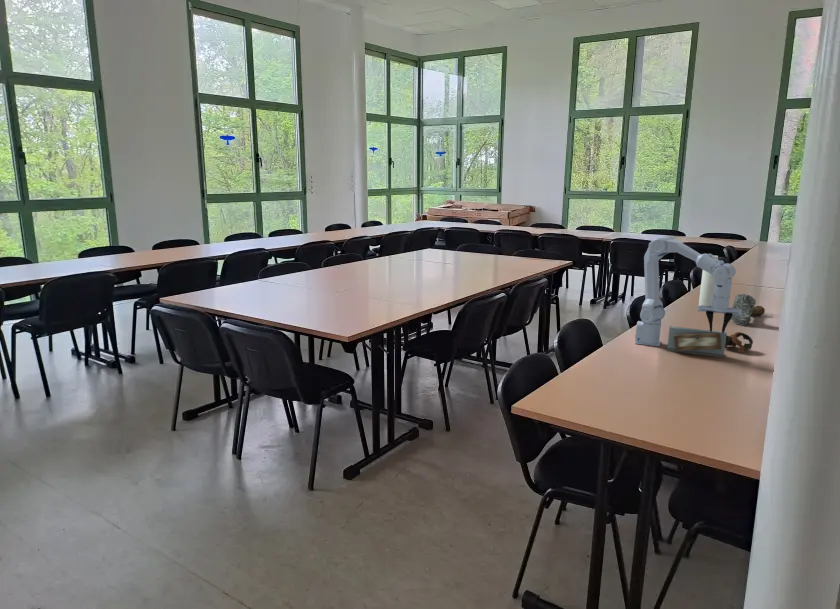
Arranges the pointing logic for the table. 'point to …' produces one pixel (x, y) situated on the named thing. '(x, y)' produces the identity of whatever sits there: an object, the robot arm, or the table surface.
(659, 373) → the table surface
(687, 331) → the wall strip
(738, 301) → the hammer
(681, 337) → the brown rectangular panel
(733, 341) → the pottery mug
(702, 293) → the bottle
